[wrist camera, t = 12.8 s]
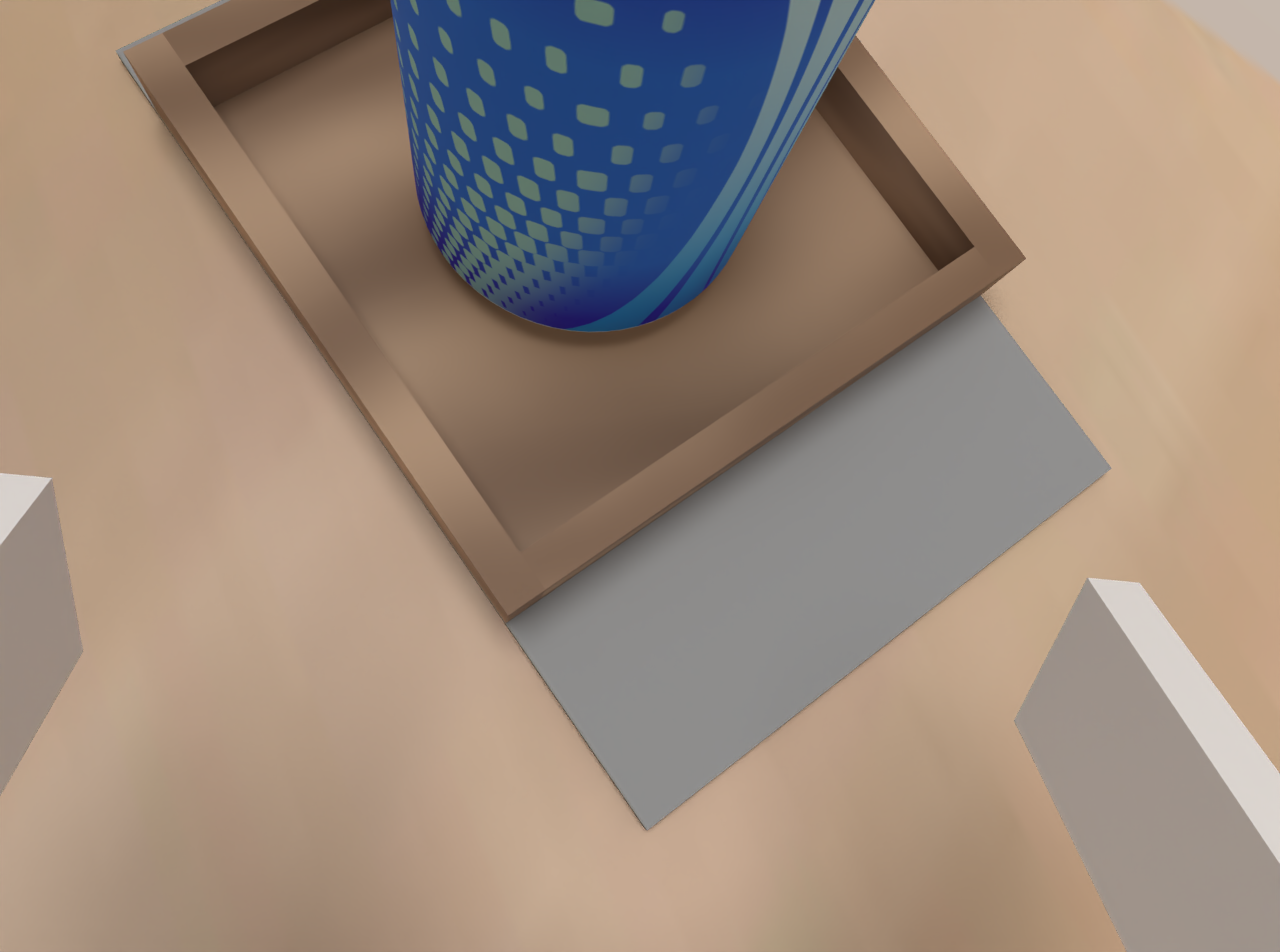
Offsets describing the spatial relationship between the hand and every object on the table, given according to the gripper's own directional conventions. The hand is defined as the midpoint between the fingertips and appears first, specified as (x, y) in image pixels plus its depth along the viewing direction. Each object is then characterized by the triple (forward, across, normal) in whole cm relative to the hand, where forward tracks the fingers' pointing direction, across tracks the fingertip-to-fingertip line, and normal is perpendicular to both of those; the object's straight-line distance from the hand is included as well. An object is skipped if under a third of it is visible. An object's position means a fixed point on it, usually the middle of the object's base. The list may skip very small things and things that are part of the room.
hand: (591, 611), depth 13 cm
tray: (+17, 0, 0) cm, 17 cm away
